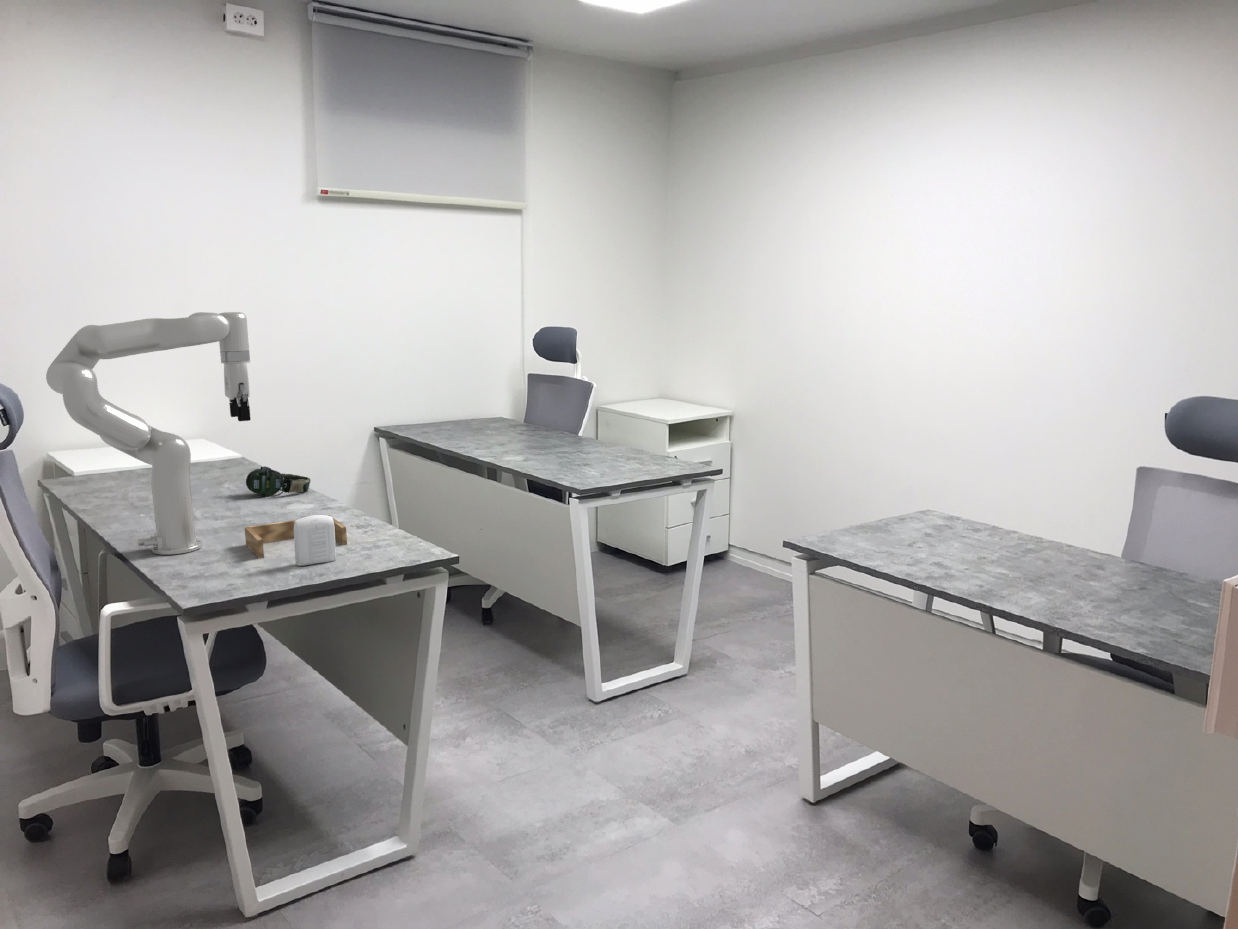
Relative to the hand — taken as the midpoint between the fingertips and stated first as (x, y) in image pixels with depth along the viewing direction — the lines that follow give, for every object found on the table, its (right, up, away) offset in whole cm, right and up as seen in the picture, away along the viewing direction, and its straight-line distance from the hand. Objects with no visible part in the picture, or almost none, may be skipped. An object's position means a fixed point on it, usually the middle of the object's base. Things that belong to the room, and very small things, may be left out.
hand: (240, 418), depth 268 cm
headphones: (-9, -23, +57) cm, 62 cm away
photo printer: (+28, -38, -21) cm, 52 cm away
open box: (+17, -35, -5) cm, 39 cm away
